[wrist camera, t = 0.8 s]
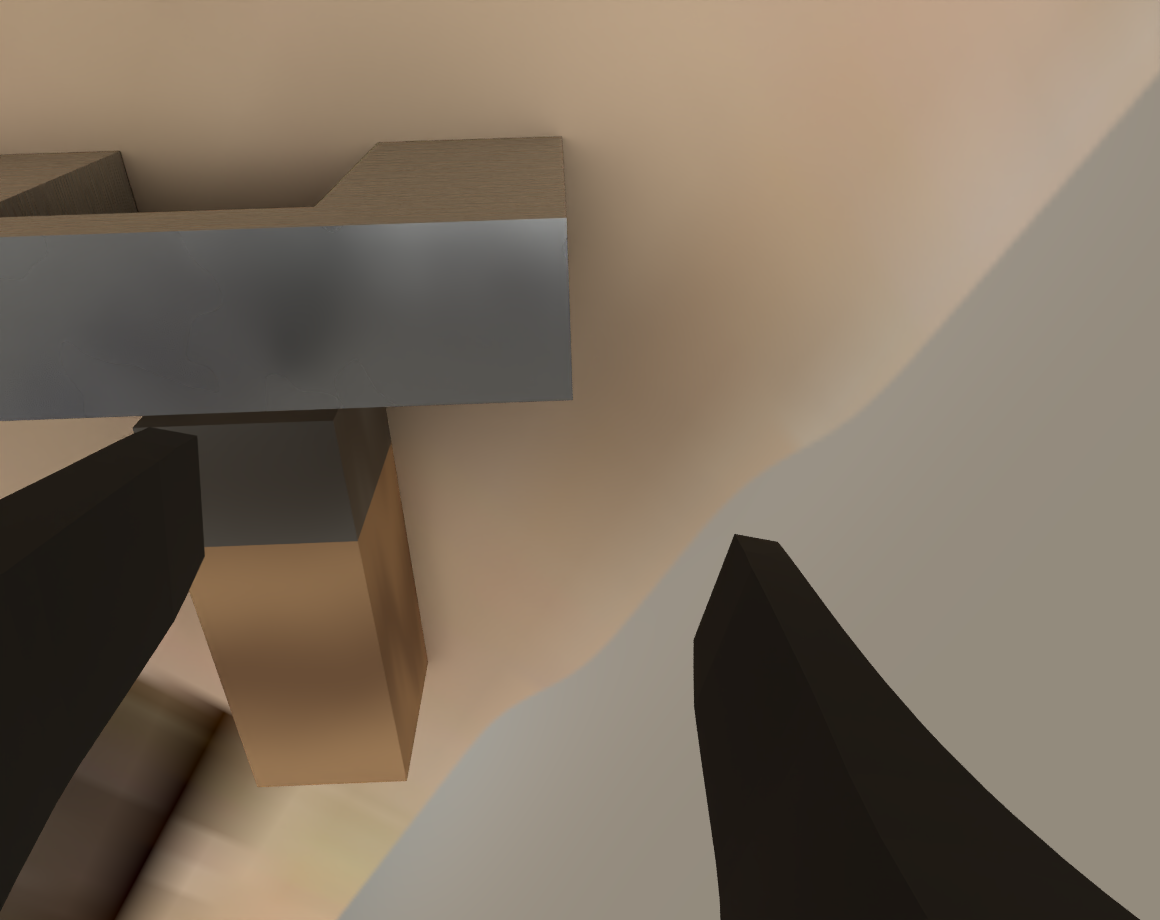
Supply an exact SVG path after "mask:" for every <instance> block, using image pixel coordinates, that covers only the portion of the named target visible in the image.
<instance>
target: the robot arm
mask: <svg viewBox="0 0 1160 920" xmlns="http://www.w3.org/2000/svg"><path fill="white" fill-rule="evenodd" d="M204 557H205V548H204V533H203V517H202V501H201V486H200V470H199V454H198V439H197V436H196V435H191V434H185V433H180V432H174V431H169V430H163V429H158V428H153V427H148V428H146V429H144V430H141V431H139V432H137V433H134V434H132V435H130V436H128V437H126V438H124V439H122V440H119V441H117V442H115V443H113V444H111V445H109V446H107V447H105V448H103V449H101V450H99V451H97V452H95V453H93V454H91V455H89V456H87V457H85V458H83V459H81V460H79V461H77V462H75V463H73V464H71V465H69V466H67V467H65V468H63V469H61V470H59V471H57V472H55V473H53V474H51V475H49V476H47V477H45V478H43V479H41V480H39V481H37V482H35V483H33V484H31V485H29V486H27V487H25V488H23V489H21V490H19V491H17V492H15V493H13V494H10V495H8V496H6V497H4V498H2V499H0V911H1V909H2V907H3V905H4V903H5V901H6V899H7V897H8V895H9V893H10V891H11V889H12V887H13V885H14V883H15V881H16V879H17V877H18V875H19V873H20V871H21V869H22V867H23V865H24V863H25V862H26V860H27V858H28V856H29V854H30V852H31V850H32V848H33V846H34V844H35V843H36V841H37V839H38V837H39V835H40V833H41V831H42V829H43V827H44V825H45V824H46V822H47V820H48V818H49V816H50V814H51V812H52V810H53V808H54V806H55V805H56V803H57V801H58V799H59V798H60V796H61V794H62V793H63V791H64V789H65V788H66V786H67V784H68V783H69V781H70V780H71V778H72V776H73V775H74V773H75V771H76V770H77V768H78V766H79V765H80V763H81V762H82V760H83V759H84V757H85V756H86V754H87V753H88V751H89V750H90V748H91V747H92V745H93V744H94V742H95V741H96V739H97V738H98V736H99V735H100V733H101V732H102V730H103V729H104V727H105V726H106V724H107V723H108V721H109V720H110V718H111V717H112V715H113V714H114V712H115V711H116V709H117V708H118V706H119V705H120V703H121V702H122V700H123V699H124V697H125V696H126V694H127V693H128V691H129V690H130V688H131V686H132V685H133V683H134V682H135V680H136V679H137V677H138V676H139V674H140V673H141V671H142V670H143V668H144V667H145V665H146V664H147V662H148V661H149V659H150V658H151V656H152V655H153V653H154V651H155V650H156V648H157V647H158V645H159V644H160V642H161V641H162V639H163V638H164V636H165V635H166V633H167V631H168V630H169V628H170V627H171V625H172V623H173V622H174V620H175V618H176V616H177V614H178V612H179V610H180V608H181V606H182V604H183V602H184V600H185V598H186V596H187V594H188V592H189V590H190V588H191V585H192V583H193V581H194V579H195V577H196V574H197V572H198V570H199V568H200V566H201V564H202V561H203V559H204ZM694 709H695V717H696V725H697V732H698V739H699V746H700V754H701V761H702V768H703V776H704V782H705V789H706V796H707V803H708V810H709V817H710V824H711V830H712V837H713V845H714V852H715V859H716V867H717V877H718V886H719V896H720V918H721V920H1140V919H1138V918H1137V917H1136V916H1134V915H1133V914H1132V913H1131V912H1129V911H1128V910H1126V909H1125V908H1124V907H1123V906H1121V905H1120V904H1119V903H1118V902H1116V901H1115V900H1113V899H1112V898H1111V897H1110V896H1109V895H1107V894H1106V893H1105V892H1103V891H1102V890H1101V889H1100V888H1098V887H1097V886H1096V885H1095V884H1094V883H1092V882H1091V881H1090V880H1089V879H1088V878H1086V877H1085V876H1084V875H1083V874H1081V873H1080V872H1079V871H1078V870H1077V869H1075V868H1074V867H1073V866H1072V865H1070V864H1069V863H1068V862H1067V861H1065V860H1064V859H1063V858H1062V857H1061V856H1060V855H1059V854H1058V853H1056V852H1055V851H1054V850H1053V849H1052V848H1050V846H1049V845H1047V844H1046V843H1045V842H1044V841H1043V840H1041V838H1039V837H1038V836H1037V835H1036V834H1035V833H1034V832H1033V831H1031V830H1030V829H1029V828H1028V827H1027V826H1026V825H1025V824H1023V823H1022V822H1021V821H1020V820H1019V819H1018V818H1017V817H1015V816H1014V815H1013V814H1012V813H1011V812H1010V811H1009V810H1008V809H1006V808H1005V806H1003V805H1002V804H1001V803H1000V802H999V801H998V800H997V799H996V798H995V797H994V796H993V795H992V794H991V793H990V792H988V791H987V790H986V789H985V788H984V787H983V786H982V785H981V784H980V783H979V782H978V781H977V780H976V779H975V778H974V777H973V776H972V775H971V774H970V773H969V772H968V771H967V770H966V769H965V768H964V767H963V766H962V765H961V764H960V763H959V762H958V761H957V760H956V759H955V758H954V757H953V756H952V755H951V754H950V753H949V752H948V751H947V750H946V749H945V748H944V747H943V746H942V745H941V744H940V743H939V742H938V740H937V739H936V738H935V737H934V736H933V735H932V734H931V733H930V732H929V731H928V730H927V729H926V728H925V727H924V725H923V724H922V723H921V722H920V721H919V720H918V719H917V718H916V716H915V715H914V714H913V713H912V712H911V711H910V710H909V708H908V707H907V706H906V705H905V704H904V703H903V702H902V700H901V699H900V698H899V697H898V696H897V695H896V694H895V692H894V691H893V690H892V689H891V688H890V687H889V685H887V683H886V682H885V681H884V680H883V678H882V677H881V676H880V675H879V674H878V673H877V671H876V670H875V669H874V667H873V666H872V665H871V664H870V663H869V661H868V660H867V659H866V658H865V656H864V655H863V654H862V653H861V651H860V650H859V649H858V648H857V646H856V645H855V644H854V642H853V641H852V640H851V639H850V637H849V636H848V635H847V633H846V632H845V631H844V629H843V628H842V627H841V626H840V624H839V623H838V622H837V620H836V619H835V618H834V616H833V615H832V614H831V612H830V611H829V610H828V608H827V607H826V606H825V604H824V603H823V602H822V600H821V599H820V598H819V596H818V595H817V593H816V592H815V591H814V589H813V588H812V587H811V585H810V584H809V583H808V581H807V580H806V578H805V577H804V576H803V574H802V573H801V572H800V570H799V569H798V568H797V566H796V565H795V564H794V562H793V561H792V560H791V558H790V557H789V556H788V554H787V553H786V552H785V551H784V549H783V548H782V547H781V545H780V544H779V543H778V542H775V541H770V540H764V539H759V538H753V537H748V536H743V535H737V534H734V537H733V540H732V543H731V545H730V547H729V550H728V553H727V555H726V558H725V560H724V563H723V565H722V568H721V571H720V573H719V576H718V578H717V581H716V584H715V586H714V589H713V591H712V594H711V597H710V599H709V602H708V604H707V607H706V610H705V612H704V614H703V617H702V620H701V622H700V625H699V627H698V630H697V632H696V636H695V638H694Z"/></svg>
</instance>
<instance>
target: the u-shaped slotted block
mask: <svg viewBox="0 0 1160 920" xmlns="http://www.w3.org/2000/svg"><path fill="white" fill-rule="evenodd" d="M561 400H573V393H572V363H571V334H570V305H569V275H568V246H567V217H566V200H565V183H564V166H563V149H562V137H535V138H504V139H474V140H443V141H412V142H382V143H377V144H376V145H375V146H374V147H373V148H372V149H371V150H370V151H369V152H368V153H367V154H366V155H365V156H364V157H363V158H362V159H361V160H360V161H359V162H358V163H357V164H356V165H355V166H354V167H353V168H352V169H351V170H350V172H349V173H348V174H347V175H346V176H345V177H344V178H343V179H342V180H341V181H340V182H339V183H338V184H337V185H336V186H335V187H334V188H333V189H332V190H331V191H330V192H329V193H328V194H327V195H326V196H325V197H324V198H323V199H322V200H321V201H320V202H319V203H318V204H317V205H316V206H315V207H293V208H264V209H234V210H204V211H174V212H145V213H138V211H137V208H136V205H135V201H134V198H133V195H132V191H131V188H130V185H129V181H128V178H127V175H126V171H125V168H124V165H123V161H122V158H121V155H120V151H107V152H76V153H46V154H15V155H0V421H13V420H41V419H68V418H95V417H123V416H150V415H178V414H205V413H232V412H260V411H287V410H315V409H342V408H369V407H397V406H424V405H452V404H479V403H506V402H534V401H561Z"/></svg>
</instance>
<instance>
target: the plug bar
mask: <svg viewBox="0 0 1160 920" xmlns="http://www.w3.org/2000/svg"><path fill="white" fill-rule="evenodd" d="M148 427H153V428H158V429H163V430H169V431H174V432H180V433H185V434H191V435H196V436H197V439H198V454H199V470H200V486H201V501H202V517H203V533H204V548H205V557H204V559H203V561H202V564H201V566H200V568H199V570H198V572H197V574H196V577H195V579H194V581H193V583H192V585H191V588H190V590H189V592H190V595H191V597H192V600H193V603H194V606H195V609H196V612H197V615H198V617H199V620H200V623H201V626H202V629H203V632H204V635H205V638H206V640H207V643H208V646H209V649H210V652H211V655H212V658H213V660H214V663H215V666H216V669H217V672H218V675H219V678H220V681H221V683H222V686H223V689H224V692H225V695H226V698H227V701H228V704H229V706H230V709H231V712H232V715H233V718H234V721H235V724H236V726H237V729H238V732H239V735H240V738H241V741H242V744H243V747H244V749H245V752H246V755H247V758H248V761H249V764H250V767H251V769H252V772H253V775H254V778H255V781H256V784H257V787H272V786H296V785H320V784H343V783H367V782H391V781H407V777H408V771H409V765H410V760H411V754H412V749H413V743H414V737H415V732H416V726H417V721H418V715H419V709H420V704H421V698H422V693H423V687H424V681H425V676H426V670H427V665H428V661H427V655H426V649H425V643H424V636H423V630H422V624H421V618H420V612H419V606H418V600H417V594H416V588H415V582H414V576H413V570H412V564H411V558H410V552H409V546H408V540H407V534H406V528H405V522H404V516H403V510H402V504H401V498H400V492H399V486H398V480H397V474H396V468H395V462H394V456H393V450H392V443H391V437H390V431H389V425H388V419H387V413H386V407H369V408H342V409H315V410H287V411H260V412H232V413H205V414H178V415H150V416H143V417H142V418H141V419H140V420H139V421H138V422H137V424H136V425H135V426H134V427H133V431H134V433H137V432H139V431H141V430H144V429H146V428H148Z"/></svg>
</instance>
